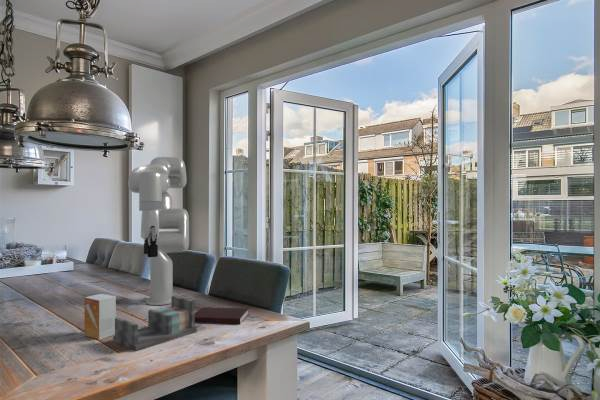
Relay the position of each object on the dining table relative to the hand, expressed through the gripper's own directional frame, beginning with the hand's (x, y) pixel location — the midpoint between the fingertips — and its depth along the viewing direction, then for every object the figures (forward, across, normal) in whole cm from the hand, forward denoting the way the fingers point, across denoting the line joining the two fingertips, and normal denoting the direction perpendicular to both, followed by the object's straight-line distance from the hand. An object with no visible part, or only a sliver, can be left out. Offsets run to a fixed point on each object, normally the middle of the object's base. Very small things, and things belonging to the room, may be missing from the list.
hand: (150, 255), depth 135 cm
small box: (+26, -3, -16) cm, 31 cm away
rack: (+26, +8, +1) cm, 27 cm away
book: (+27, -1, +26) cm, 37 cm away
